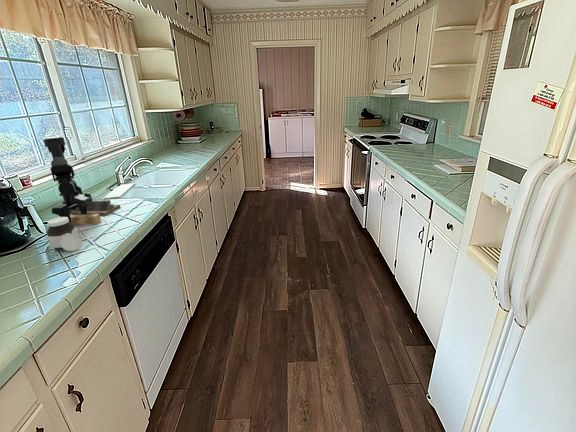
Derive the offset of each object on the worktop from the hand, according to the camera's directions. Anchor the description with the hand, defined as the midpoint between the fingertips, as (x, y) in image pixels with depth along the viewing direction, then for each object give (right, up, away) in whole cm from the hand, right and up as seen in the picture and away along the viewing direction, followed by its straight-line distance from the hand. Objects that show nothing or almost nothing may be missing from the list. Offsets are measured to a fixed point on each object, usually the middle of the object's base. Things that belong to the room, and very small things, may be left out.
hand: (78, 221), depth 152 cm
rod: (0, -1, 0) cm, 1 cm away
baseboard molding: (-7, +17, +51) cm, 54 cm away
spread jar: (+13, -10, -25) cm, 30 cm away
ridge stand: (-1, +5, +15) cm, 16 cm away
